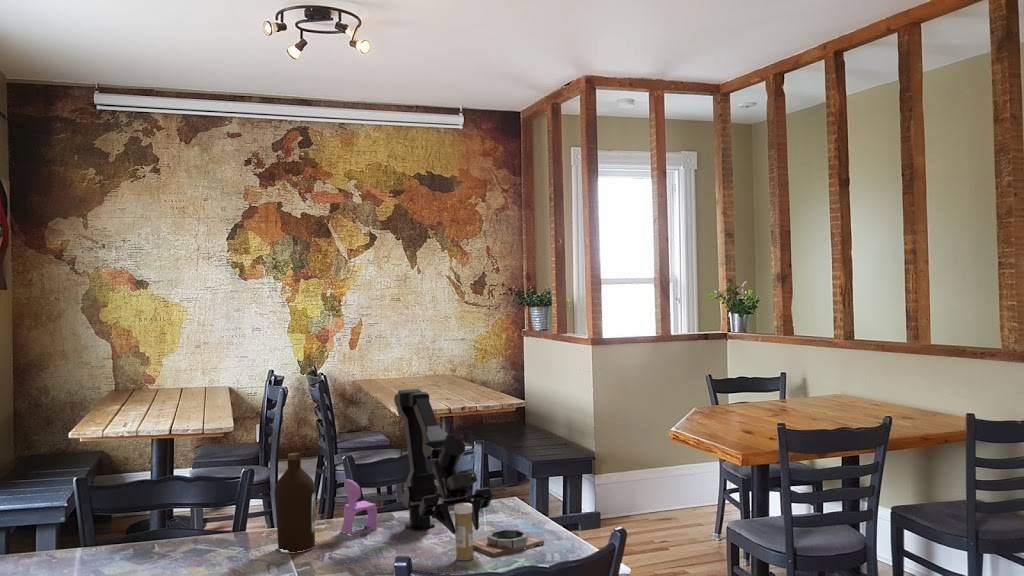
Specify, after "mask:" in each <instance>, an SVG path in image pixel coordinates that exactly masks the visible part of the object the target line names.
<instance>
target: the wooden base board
mask: <svg viewBox="0 0 1024 576" xmlns="http://www.w3.org/2000/svg"><path fill="white" fill-rule="evenodd" d="M540 544H544V545H545V540H543V539H541V538H539V537H536V536H533V535H530V534H528V541H527V543H526V545H524V546H520V547H516V548H495V547H493V546H490V545H488V540H487V537H485V538H480V539H475V540H474V539H473V550H476V551H478V552H480V553H483V554H484V555H487V556H490V557H493V558H496V557H500V556H503V555H507V554H511V553H512V554H513V553H514V552H515V551H516V552H520V551H523V550H522V549H524V548H528V549H530V548H529V547H532V546H536V545H540ZM540 546H541V545H540ZM536 547H537V546H536ZM532 548H533V547H532ZM519 550H520V551H519ZM524 550H525V549H524ZM516 552H515V553H516Z"/></svg>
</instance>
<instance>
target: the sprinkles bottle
mask: <svg viewBox="0 0 1024 576" xmlns="http://www.w3.org/2000/svg"><path fill="white" fill-rule="evenodd" d="M453 513H454V527H455V531H456V532H455V534H454V536H455V538H454V539H455V549H456V551H455V553H456V554H455V555H456V556H455V558H456V560H458V561H461V562H462V561H463V562H464V561H465V562H466V561H471V560H473V559H474V557H475V556H474V549H473V541H474V536H473V533H474V532H473V531H474V530H473V523H472V504H470V503H459V504H456V505H454V506H453Z"/></svg>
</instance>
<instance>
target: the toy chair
mask: <svg viewBox="0 0 1024 576" xmlns="http://www.w3.org/2000/svg"><path fill="white" fill-rule="evenodd" d="M343 486H344V490H345V491H346V497H347V502H348V503H346V504H344V508H343V522H342V525H341V529H340V531H342V532H345V533H347V534H350V535H352V536H353V524H354V519H355V516H356V514H357V513H359V512H362V511H364V510H366V512H367V519H366V521H365V524H364V527H365V526H367V527H366V528H368V527H370V528H372V529H371V530H373V529H375V530H374V531H378V519H377V518H378V508H377V507H376V506H377V504H376V503H371V502H369V501H367V500H361V501H358V499H360V498H361V495H362V494H361V488H360V485H358V483H357V482H355V481H354V480H352V479H349V478H347V479H345V481H344V485H343ZM370 528H369V529H370Z"/></svg>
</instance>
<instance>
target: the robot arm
mask: <svg viewBox="0 0 1024 576" xmlns="http://www.w3.org/2000/svg"><path fill="white" fill-rule="evenodd" d="M393 399H394V400H393V401H394V405H395V407H396V410H397V414H398V415H399V416H400V418H401V419H402V420H403V422H404V428H405V438H406V445H407V454H408V463H409V473H408V476H407V478H406V481H405V485H406V486H405V489H404V492H403V494H402V497H401V500H402V501H401V502H402V506H403V507H404V508H406V509H408V511H409V523H405V524H404V527H406V528H409V529H411V530H413V531H420V530H424V529H429V528H433V527H435V526H436V525H435V523H432V522H431V518H432V519H436V520H437V521H438V522H439V523H440V524H442V525H443V526H444V527H445V528H447V530H448V531H450V532H451V534H452V535H455V532H456V531H455V523H454V522H453V519H452V517H451V514H450V511H449V507H454V505H456V504H459V503H470V504H472V526H473V527H474V529H475V531H478V530H479V529H480V528H479V527H480V524H479V523H480V518H479V517H480V515H479V514H480V510H482V509H486V508H489V506H490V504H491V502H492V499H493V498H494V493H493V490H492V489H491V488H490V487H482V488H476V489H475V490H474V492H473V494H472V495H471V494H470V495H466V494H467V493H468V492H469V487H471V486H472V485H473V484H475V483H477V482H478V481H477V480H478V479H477V474H476V472H475V469H471V470H467V471H466V472H465V473H459V472H458V469H457V467H458V466H459V465H460V463H461V461H462V457H463V456H464V454H465V451H466V445H465V442H463V441H462V440H461V439H460V438H456V437H455V434H448V432H447V431H445V430H444V429H442V428H441V426H440V424H439V422H438V419H437V416H436V415H435V412H434V409H433V407H432V404H431V402H430V395H429V392H428V391H422V390H421V389H420V388H411V389H401V390H398V391H397V393H395V394H394V398H393ZM426 460H428V461H434V460H435V461H434V463H433V464H432V472H430V471H429V469H428V467H427V461H426ZM435 477H436V481H437V484H438V487H437V484H436V483H435ZM438 493H440V494H441V496H442V497H441V498H440V497H439V495H438Z"/></svg>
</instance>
